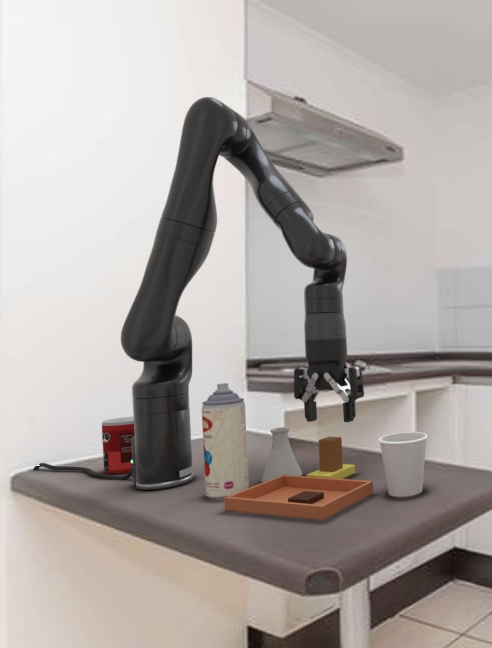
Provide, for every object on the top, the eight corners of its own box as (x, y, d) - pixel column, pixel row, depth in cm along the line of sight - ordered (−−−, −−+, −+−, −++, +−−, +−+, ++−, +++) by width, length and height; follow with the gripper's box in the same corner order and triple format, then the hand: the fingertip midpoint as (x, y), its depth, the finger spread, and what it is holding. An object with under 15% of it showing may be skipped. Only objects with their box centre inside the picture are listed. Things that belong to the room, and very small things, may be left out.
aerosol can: (205, 494, 100) (199, 383, 100) (246, 486, 104) (241, 380, 103) (207, 504, 94) (201, 387, 94) (251, 495, 98) (246, 383, 97)
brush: (306, 485, 103) (304, 442, 103) (334, 473, 111) (332, 433, 110) (329, 487, 101) (327, 443, 101) (355, 474, 109) (353, 434, 109)
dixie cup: (425, 484, 101) (423, 429, 101) (434, 497, 93) (431, 438, 93) (378, 490, 98) (376, 434, 98) (383, 504, 90) (380, 444, 90)
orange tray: (224, 512, 89) (223, 497, 89) (284, 488, 102) (283, 474, 102) (322, 523, 83) (322, 506, 83) (373, 495, 96) (372, 481, 96)
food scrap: (287, 504, 91) (287, 498, 91) (304, 496, 95) (304, 490, 95) (307, 506, 90) (307, 500, 90) (324, 498, 93) (323, 492, 93)
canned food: (115, 466, 123) (113, 417, 123) (155, 463, 124) (153, 415, 124) (95, 476, 115) (93, 423, 115) (138, 472, 117) (135, 421, 116)
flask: (287, 486, 103) (285, 432, 103) (253, 485, 105) (250, 432, 104) (309, 474, 110) (307, 425, 110) (277, 474, 112) (275, 425, 111)
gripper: (369, 334, 107) (373, 418, 107) (308, 337, 111) (312, 417, 112) (344, 336, 100) (349, 426, 100) (281, 339, 104) (286, 424, 105)
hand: (330, 421), depth 106 cm, fingers open, 8 cm apart
